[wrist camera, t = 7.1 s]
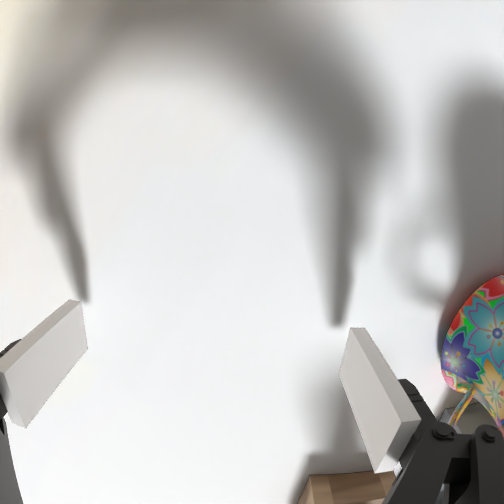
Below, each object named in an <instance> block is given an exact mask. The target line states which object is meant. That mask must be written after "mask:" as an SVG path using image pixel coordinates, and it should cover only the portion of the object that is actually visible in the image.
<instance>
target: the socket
mask: <svg viewBox="0 0 504 504" xmlns="http://www.w3.org/2000/svg"><path fill="white" fill-rule="evenodd" d="M395 479H396V476H395V474H394V471H388V472H381V473H374V471H368V472H358V473H347V474H333V475H310V476H309V479H308V481H307V483H306V486H305V488H304V490H303V492H302V495H301V497H300V499H299V501H298V503H297V504H382V502H383V501H384V499H385V497H386V496H387V494H388V492H389V490H390V489H391V487H392V483H393V482H394V480H395Z"/></svg>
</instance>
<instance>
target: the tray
mask: <svg viewBox="0 0 504 504" xmlns="http://www.w3.org/2000/svg"><path fill="white" fill-rule="evenodd" d="M455 409H456V407H455V408H449V409H445V411H444V413H443V415H442V417H441V419H440V420H439V422H444V423H447V424H448V422H449V420H450V417H451V416H452V414H453V412H454V410H455ZM482 424H488V425H492V426H494V427H496V428H499V427H498V426H497V424H496V422H495V420H494V419H493V417H492V416H491V414H490V413H489V412H488V411H487V409H486V408H485V407H484V406H483V405H482V404H481V403H477V404H472V405H467V407H466V408H465V410H464V411H463V413H462V414H461V416H460V417H459V419H458V421H457V423H456V425H455V427H454V429H455V430H456V432H457V434H473V433H474V431H475V430H476V428H477V427H478V426H480V425H482ZM443 494H444V484H442V487H441V490H440V492H439V495H438V497H437V500H436V502H435V504H443Z"/></svg>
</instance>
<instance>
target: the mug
mask: <svg viewBox="0 0 504 504" xmlns="http://www.w3.org/2000/svg"><path fill="white" fill-rule="evenodd" d="M441 370H442V374H443V377H444V379H445V381H446V383H447V384H448V385H449V386H450V387H451V388H452V389H454V390H456V391H457V392H460V393H461V392H462V393H466V394H465V396H464V397H463V398H462V400H461V401H460V402H459V404H458V405H457V407H456V409H455V410H454V412H453V414H452V416H451V417H450V420H449V422H448V424H449V425H451V426H452V427H453V428H454V427H455V425H456V423H457V421H458V419H459V417H460V416H461V414H462V413H463V411H464V410H465V408H466V407H467V405H468V404H469V403H470V401H471V400H472V398H475V399H476V400H477V401H479V402H480V403H481V404H482V405H483V406H484V407H485V408H486V409H487V411H488V412H489V413H490V414H491V416H492V417H493V419H494V420H495V422H496V424H497V426H498V427H499V428H498V429H499V430H500V431H501V433H502V435H503V438H504V274H502V275H499V276H497V277H494V278H492V279H491V280H489V281H487V282H486V283H484V284H483V285H482V286H480V287H479V288H478V289H477V290H476V291H475V292H474V293H473V294H472V295H471V296H470V297H469V298H468V299H467V300H466V302H465V303H464V304H463V306H462V307H461V308H460V310H459V311H458V313H457V315H456V316H455V318H454V320H453V322H452V324H451V325H450V328H449V330H448V332H447V335H446V338H445V341H444V344H443V349H442V355H441Z"/></svg>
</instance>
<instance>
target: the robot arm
mask: <svg viewBox="0 0 504 504" xmlns="http://www.w3.org/2000/svg"><path fill="white" fill-rule="evenodd" d="M87 349H88V345H87V339H86V332H85V325H84V318H83V310H82V302H81V301H75V300H68V301H67V302H66V303H64V304H63V305H62V306H61V307H59V308H58V309H57V310H56V311H55V312H53V313H52V314H51V315H50V316H48V317H47V318H46V319H45V320H44V321H43V322H41V323H40V324H39V325H38V326H37V327H35V328H34V329H33V330H32V331H31V332H30V333H28V334H27V335H26V336H25V337H24V338H23V339H19V340H17V341H15V342H13V343H11V344H10V345H8V346H7V347H6V348H5V350H3V351H2V352H0V504H23V501H22V498H21V494H20V490H19V487H18V483H17V479H16V475H15V470H14V466H13V461H12V456H11V451H10V446H9V440H8V434H7V427H6V422H5V420H4V418H3V417H4V415H5V414H6V413H7V412H8V414H9V416H10V419H11V421H12V423H14V424H17V425H19V426H21V427H24V428H27V426H28V425H29V424H30V422H31V421H32V420H33V418H34V417H35V416H36V414H37V413H38V412H39V410H40V409H41V408H42V406H43V405H44V404H45V402H46V401H47V400H48V398H49V397H50V396H51V395H52V393H53V392H54V391H55V389H56V388H57V387H58V386H59V384H60V383H61V382H62V380H63V379H64V378H65V377H66V375H67V374H68V373H69V372H70V370H71V369H72V368H73V367H74V365H75V364H76V363H77V362H78V360H79V359H80V358H81V357H82V355H83V354H84V353H85V352H86V351H87ZM339 377H340V379H341V382H342V385H343V387H344V390H345V393H346V395H347V398H348V401H349V403H350V406H351V409H352V412H353V414H354V417H355V420H356V422H357V425H358V428H359V431H360V433H361V436H362V439H363V442H364V445H365V447H366V450H367V453H368V456H369V459H370V462H371V465H372V467H373V470H374V473H381V472H388V471H393V470H394V468H395V467H396V465H397V463H398V461H399V462H400V464H401V467H402V469H401V471H400V473H399V474H398V476H397V477H396V479H395V480H394V482H393V483H392V487H391V489H390V490H389V492H388V494H387V496H386V497H385V499H384V501H383V502H382V504H435V502H436V500H437V497H438V495H439V492H440V490H441V487H442V484H444V494H443V504H504V438H503V435H502V433H501V431H500V430H499V429H498V428H496V427H494V426H492V425H488V424H482V425H480V426H478V427H477V428H476V430H475V431H474V433H473V434H457V432H456V430H455V429H454V428H453V427H452V426H451V425H449V424H447V423H444V422H438V421H437V420H436V418H435V416H434V415H433V413H432V412H431V410H430V409H429V407H428V406H427V404H426V402H425V401H424V399H423V398H422V396H421V395H420V393H419V392H418V390H417V389H416V387H415V386H414V385H413V384H412V383H410V382H409V381H408V380H407V379H397V378H396V376H395V375H394V373H393V371H392V370H391V368H390V366H389V365H388V363H387V362H386V360H385V358H384V357H383V355H382V354H381V352H380V351H379V349H378V347H377V346H376V344H375V343H374V341H373V340H372V338H371V336H370V335H369V333H368V332H367V330H366V329H365V328H350V331H349V335H348V339H347V343H346V348H345V352H344V356H343V359H342V363H341V367H340V371H339Z"/></svg>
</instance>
